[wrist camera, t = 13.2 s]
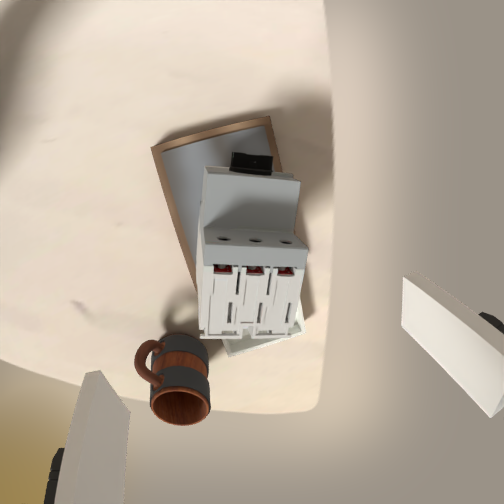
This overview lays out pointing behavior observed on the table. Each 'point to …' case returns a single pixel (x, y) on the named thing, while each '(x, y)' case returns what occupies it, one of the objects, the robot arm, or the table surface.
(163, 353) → the mug
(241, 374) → the table surface
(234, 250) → the circuit breaker
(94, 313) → the table surface
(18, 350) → the table surface
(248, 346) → the tray
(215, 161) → the framed panel
